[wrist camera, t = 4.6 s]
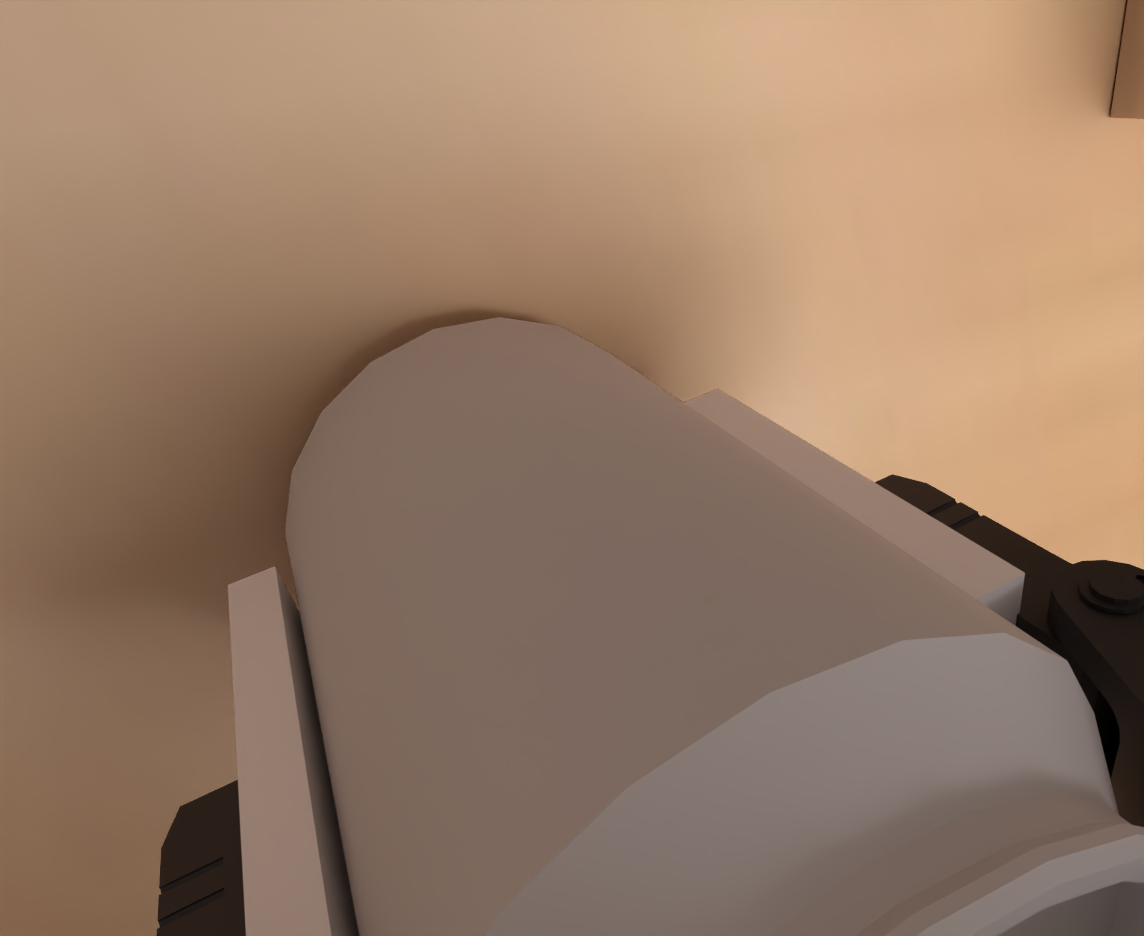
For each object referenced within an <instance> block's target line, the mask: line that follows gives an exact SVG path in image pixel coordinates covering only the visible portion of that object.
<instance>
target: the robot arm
mask: <svg viewBox="0 0 1144 936" xmlns="http://www.w3.org/2000/svg"><path fill="white" fill-rule="evenodd" d="M684 403H685V404H686V405H688V406H689V407H691V408H692V409H694V410H695V411H697V412H698V413H700V414H701V415H703V416H704V417H706V418H707V419H708V420H710V421H711V422H713V423H714V424H716V425H717V426H719V427H720V428H722V429H723V430H725V431H726V432H728V433H729V434H731V435H732V436H734V437H735V438H737V439H738V440H740V441H741V442H743V443H744V444H746V445H747V446H749V447H750V448H752V449H753V450H755V451H756V452H758V453H759V454H761V455H762V456H764V457H765V458H767V459H768V460H769V461H771V462H772V463H774V464H775V465H777V466H778V467H780V468H781V469H783V470H784V471H786V472H787V473H789V474H790V475H792V476H793V477H795V478H796V479H798V480H799V481H801V482H802V483H804V484H805V485H807V486H808V487H810V488H811V489H813V490H814V491H816V492H817V493H819V494H820V495H822V496H823V497H825V498H826V499H827V500H829V501H830V502H832V503H833V504H835V505H836V506H838V507H839V508H841V509H842V510H844V511H845V512H847V513H848V514H850V515H851V516H853V517H854V518H856V519H857V520H859V521H860V522H862V523H863V524H865V525H866V526H868V527H869V528H871V529H872V530H874V531H875V532H877V533H878V534H880V535H881V536H883V537H884V538H885V539H887V540H888V541H890V542H891V543H893V544H894V545H896V546H897V547H899V548H900V549H902V550H903V551H905V552H906V553H908V554H909V555H911V556H912V557H914V558H915V559H917V560H918V561H920V562H921V563H923V564H924V565H926V566H927V567H929V568H930V569H932V570H933V571H935V572H936V573H938V574H939V575H941V576H942V577H943V578H945V579H946V580H948V581H949V582H951V583H952V584H954V585H955V586H957V587H958V588H960V589H961V590H963V591H964V592H966V593H967V594H969V595H970V596H972V597H973V598H975V599H976V600H978V601H979V602H981V603H982V604H984V605H985V606H987V607H988V608H990V609H991V610H993V611H994V612H996V613H997V614H999V615H1000V616H1002V617H1003V618H1004V619H1006V620H1007V621H1009V622H1010V623H1012V624H1013V625H1015V626H1016V627H1018V628H1019V629H1021V630H1022V631H1024V632H1025V633H1027V634H1028V635H1030V636H1031V637H1033V638H1034V639H1036V640H1037V641H1039V642H1040V643H1042V644H1043V645H1045V646H1046V647H1048V648H1049V649H1051V650H1052V651H1054V652H1055V653H1057V654H1058V655H1060V656H1061V657H1062V658H1064V659H1065V660H1067V661H1068V663H1069V665H1070V667H1071V669H1072V671H1073V673H1074V675H1075V677H1076V679H1077V680H1078V682H1079V684H1080V686H1081V688H1082V690H1083V692H1084V694H1085V696H1086V698H1087V700H1088V702H1089V704H1090V706H1091V708H1092V710H1093V712H1094V714H1095V718H1096V723H1097V727H1098V731H1099V735H1100V739H1101V743H1102V747H1103V751H1104V755H1105V759H1106V763H1107V768H1108V772H1109V776H1110V780H1111V784H1112V788H1113V792H1114V796H1115V800H1116V804H1117V808H1118V812H1119V816H1121V817H1122V818H1123V819H1125V820H1126V821H1127V822H1129V823H1130V824H1131V825H1135V826H1140V827H1144V570H1143V569H1140V568H1138V567H1135V566H1133V565H1130V564H1125V563H1119V562H1113V561H1107V560H1096V561H1081V562H1078V563H1075V564H1071V563H1069V562H1067V561H1065V560H1063V559H1061V558H1060V557H1058V556H1056V555H1054V554H1052V553H1051V552H1049V551H1047V550H1045V549H1044V548H1042V547H1040V546H1038V545H1036V544H1035V543H1033V542H1031V541H1029V540H1027V539H1026V538H1024V537H1022V536H1020V535H1018V534H1017V533H1015V532H1013V531H1011V530H1009V529H1008V528H1006V527H1004V526H1002V525H1001V524H999V523H997V522H995V521H993V520H992V519H990V518H988V517H986V516H984V515H983V516H980V515H979V514H978V512H977V511H975V510H974V509H972V508H970V507H968V506H966V505H965V504H963V503H961V502H960V503H956V501H955V499H954V498H952V497H950V496H949V495H947V494H945V493H943V492H941V491H940V490H938V489H936V488H934V487H932V486H931V485H929V484H927V483H923V482H919V481H916V480H912V479H908V478H904V477H900V476H896V475H890V476H888V477H886V478H884V479H881V480H879V481H877V482H875V483H874V482H873V481H871V480H869V479H868V478H866V477H864V476H863V475H861V474H859V473H858V472H856V471H854V470H853V469H851V468H849V467H848V466H846V465H844V464H843V463H841V462H839V461H838V460H836V459H834V458H833V457H831V456H829V455H828V454H826V453H824V452H823V451H821V450H819V449H818V448H816V447H814V446H813V445H811V444H809V443H808V442H806V441H804V440H803V439H801V438H799V437H798V436H796V435H794V434H793V433H791V432H789V431H788V430H786V429H784V428H783V427H781V426H779V425H778V424H776V423H774V422H773V421H771V420H769V419H768V418H766V417H764V416H763V415H761V414H759V413H758V412H756V411H754V410H753V409H751V408H749V407H748V406H746V405H744V404H743V403H741V402H739V401H738V400H736V399H734V398H733V397H731V396H729V395H728V394H726V393H724V392H723V391H721V390H719V389H716V390H713V391H711V392H708V393H706V394H703V395H701V396H698V397H696V398H693V399H691V400H689V401H686V402H684ZM228 600H229V620H230V639H231V658H232V677H233V696H234V716H235V735H236V754H237V773H238V780H236V781H234V782H232V783H230V784H228V785H226V786H223V787H221V788H219V789H217V790H215V791H213V792H210V793H208V794H206V795H204V796H202V797H200V798H198V799H195V800H193V801H191V802H189V803H187V804H185V805H182V806H180V808H179V810H178V812H177V814H176V817H175V819H174V821H173V823H172V826H171V828H170V830H169V832H168V835H167V837H166V839H165V841H164V843H163V846H162V848H161V866H160V885H159V888H160V889H161V895H159V905H158V922H159V925H160V928H158V929H157V936H359V931H358V926H357V921H356V915H355V910H354V904H353V899H352V894H351V888H350V883H349V877H348V872H347V866H346V861H345V856H344V850H343V845H342V839H341V834H340V828H339V823H338V818H337V812H336V807H335V801H334V796H333V791H332V785H331V780H330V774H329V769H328V763H327V758H326V753H325V747H324V742H323V736H322V731H321V725H320V720H319V715H318V709H317V704H316V698H315V693H314V688H313V682H312V677H311V671H310V666H309V660H308V655H307V650H306V644H305V639H304V633H303V628H302V623H301V617H300V613H299V611H298V609H297V607H296V605H295V603H294V601H293V599H292V597H291V596H290V594H289V592H288V590H287V588H286V586H285V584H284V582H283V580H282V578H281V576H280V574H279V572H278V570H277V568H276V566H274V567H271V568H269V569H266V570H264V571H261V572H259V573H256V574H254V575H251V576H249V577H246V578H244V579H241V580H239V581H236V582H234V583H231V584H229V585H228Z"/></svg>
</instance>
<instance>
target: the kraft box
mask: <svg viewBox="0 0 1144 936" xmlns="http://www.w3.org/2000/svg"><path fill="white" fill-rule="evenodd" d="M1110 117H1113V118H1136V119H1144V0H1128V2H1127V9H1126V15H1125V22H1124V29H1123V35H1122V42H1121V49H1120V55H1119V62H1118V69H1117V75H1116V82H1115V89H1114V95H1113V102H1112V109H1111V115H1110Z"/></svg>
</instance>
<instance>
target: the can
mask: <svg viewBox="0 0 1144 936" xmlns="http://www.w3.org/2000/svg"><path fill="white" fill-rule="evenodd" d="M285 536H286V541H287V547H288V552H289V557H290V563H291V568H292V574H293V579H294V585H295V590H296V595H297V601H298V606H299V612H300V617H301V623H302V628H303V633H304V639H305V644H306V650H307V655H308V660H309V666H310V671H311V677H312V682H313V688H314V693H315V698H316V704H317V709H318V715H319V720H320V725H321V731H322V736H323V742H324V747H325V753H326V758H327V763H328V769H329V774H330V780H331V785H332V791H333V796H334V801H335V807H336V812H337V818H338V823H339V828H340V834H341V839H342V845H343V850H344V856H345V861H346V866H347V872H348V877H349V883H350V888H351V894H352V899H353V904H354V910H355V915H356V921H357V926H358V931H359V936H1144V827H1140V826H1135V825H1131V824H1130V823H1129V822H1127V821H1126V820H1125V819H1123V818H1122V817H1121V816H1119V812H1118V808H1117V804H1116V800H1115V796H1114V792H1113V788H1112V784H1111V780H1110V776H1109V772H1108V768H1107V763H1106V759H1105V755H1104V751H1103V747H1102V743H1101V739H1100V735H1099V731H1098V727H1097V723H1096V718H1095V714H1094V712H1093V710H1092V708H1091V706H1090V704H1089V702H1088V700H1087V698H1086V696H1085V694H1084V692H1083V690H1082V688H1081V686H1080V684H1079V682H1078V680H1077V679H1076V677H1075V675H1074V673H1073V671H1072V669H1071V667H1070V665H1069V663H1068V661H1067V660H1065V659H1064V658H1062V657H1061V656H1060V655H1058V654H1057V653H1055V652H1054V651H1052V650H1051V649H1049V648H1048V647H1046V646H1045V645H1043V644H1042V643H1040V642H1039V641H1037V640H1036V639H1034V638H1033V637H1031V636H1030V635H1028V634H1027V633H1025V632H1024V631H1022V630H1021V629H1019V628H1018V627H1016V626H1015V625H1013V624H1012V623H1010V622H1009V621H1007V620H1006V619H1004V618H1003V617H1002V616H1000V615H999V614H997V613H996V612H994V611H993V610H991V609H990V608H988V607H987V606H985V605H984V604H982V603H981V602H979V601H978V600H976V599H975V598H973V597H972V596H970V595H969V594H967V593H966V592H964V591H963V590H961V589H960V588H958V587H957V586H955V585H954V584H952V583H951V582H949V581H948V580H946V579H945V578H943V577H942V576H941V575H939V574H938V573H936V572H935V571H933V570H932V569H930V568H929V567H927V566H926V565H924V564H923V563H921V562H920V561H918V560H917V559H915V558H914V557H912V556H911V555H909V554H908V553H906V552H905V551H903V550H902V549H900V548H899V547H897V546H896V545H894V544H893V543H891V542H890V541H888V540H887V539H885V538H884V537H883V536H881V535H880V534H878V533H877V532H875V531H874V530H872V529H871V528H869V527H868V526H866V525H865V524H863V523H862V522H860V521H859V520H857V519H856V518H854V517H853V516H851V515H850V514H848V513H847V512H845V511H844V510H842V509H841V508H839V507H838V506H836V505H835V504H833V503H832V502H830V501H829V500H827V499H826V498H825V497H823V496H822V495H820V494H819V493H817V492H816V491H814V490H813V489H811V488H810V487H808V486H807V485H805V484H804V483H802V482H801V481H799V480H798V479H796V478H795V477H793V476H792V475H790V474H789V473H787V472H786V471H784V470H783V469H781V468H780V467H778V466H777V465H775V464H774V463H772V462H771V461H769V460H768V459H767V458H765V457H764V456H762V455H761V454H759V453H758V452H756V451H755V450H753V449H752V448H750V447H749V446H747V445H746V444H744V443H743V442H741V441H740V440H738V439H737V438H735V437H734V436H732V435H731V434H729V433H728V432H726V431H725V430H723V429H722V428H720V427H719V426H717V425H716V424H714V423H713V422H711V421H710V420H708V419H707V418H706V417H704V416H703V415H701V414H700V413H698V412H697V411H695V410H694V409H692V408H691V407H689V406H688V405H686V404H685V403H683V402H682V401H680V400H679V399H677V398H676V397H674V396H673V395H671V394H670V393H668V392H667V391H665V390H664V389H662V388H661V387H659V386H658V385H656V384H655V383H653V382H652V381H650V380H649V379H648V378H646V377H645V376H643V375H642V374H640V373H639V372H637V371H636V370H634V369H633V368H631V367H630V366H628V365H627V364H625V363H624V362H622V361H621V360H619V359H618V358H616V357H615V356H613V355H612V354H610V353H609V352H607V351H605V350H603V349H602V348H600V347H598V346H596V345H594V344H592V343H590V342H589V341H587V340H585V339H583V338H581V337H579V336H578V335H576V334H574V333H572V332H570V331H568V330H566V329H565V328H563V327H561V326H557V325H550V324H544V323H537V322H530V321H523V320H516V319H509V318H503V317H496V318H491V319H485V320H480V321H474V322H469V323H463V324H458V325H452V326H447V327H441V328H436V329H432V330H430V331H428V332H426V333H425V334H423V335H421V336H419V337H417V338H415V339H413V340H411V341H409V342H407V343H406V344H404V345H402V346H400V347H398V348H396V349H394V350H392V351H390V352H389V353H387V354H385V355H383V356H381V357H379V358H377V359H375V360H373V361H372V362H370V363H369V364H368V365H367V366H366V367H365V368H364V369H363V370H362V371H361V372H360V373H359V374H358V375H357V376H356V377H355V378H354V379H353V380H352V381H351V382H350V383H349V384H348V385H347V386H346V387H345V388H344V389H343V390H342V391H341V392H340V394H339V395H338V396H337V397H336V398H335V399H334V400H333V401H332V402H331V403H330V404H329V405H328V406H327V407H326V408H325V409H324V410H323V411H322V412H321V413H320V416H319V418H318V420H317V422H316V424H315V426H314V428H313V430H312V432H311V434H310V436H309V438H308V440H307V442H306V444H305V446H304V448H303V450H302V452H301V454H300V456H299V458H298V460H297V462H296V464H295V466H294V468H293V470H292V473H291V482H290V491H289V500H288V509H287V518H286V527H285Z"/></svg>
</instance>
